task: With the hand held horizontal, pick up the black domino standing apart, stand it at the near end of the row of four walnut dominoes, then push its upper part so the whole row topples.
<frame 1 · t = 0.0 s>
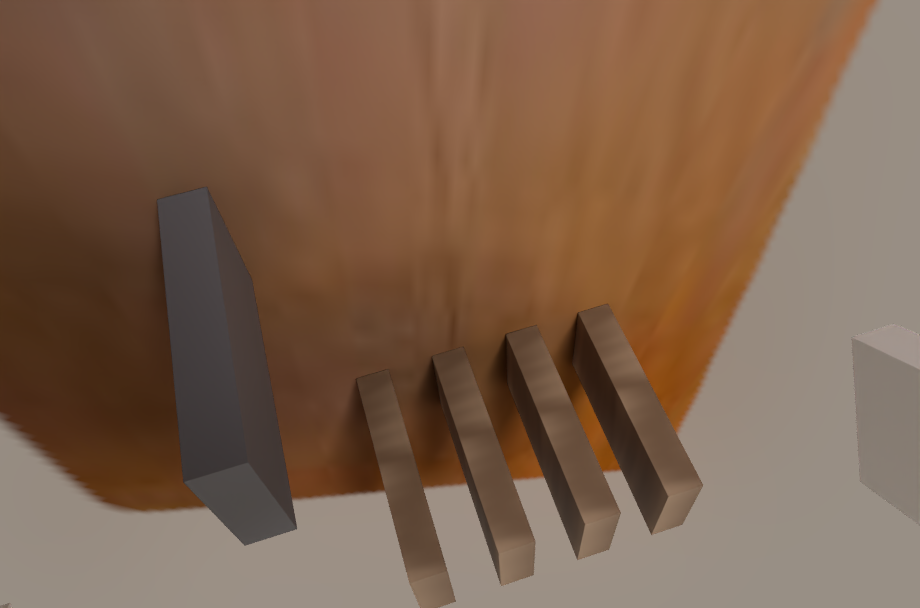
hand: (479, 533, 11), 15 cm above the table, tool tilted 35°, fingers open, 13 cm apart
walnut domino 2: (451, 376, 38), on the table
black domino: (208, 243, 26), on the table
walnut domino 4: (589, 335, 39), on the table
walnut domino 1: (380, 398, 38), on the table
walnut domino 3: (521, 355, 39), on the table
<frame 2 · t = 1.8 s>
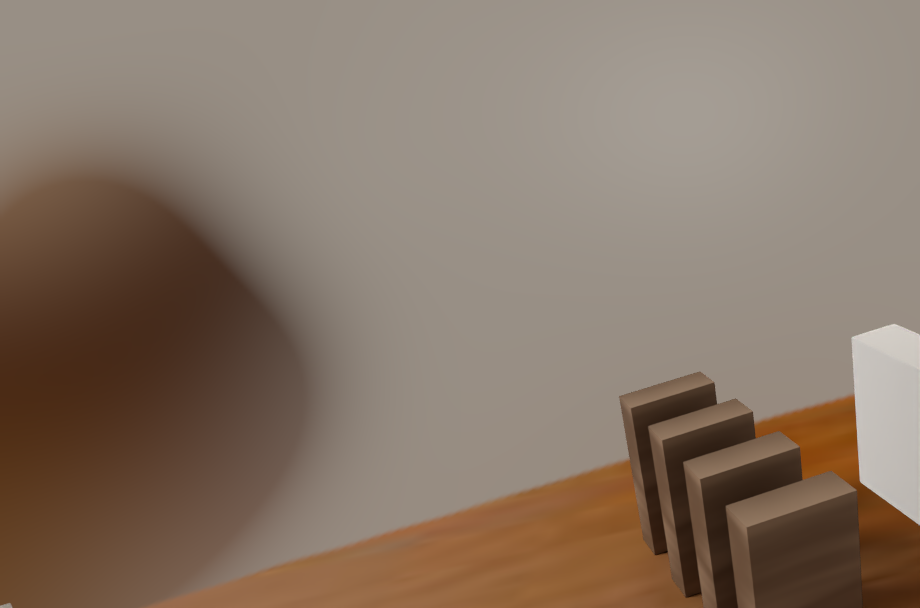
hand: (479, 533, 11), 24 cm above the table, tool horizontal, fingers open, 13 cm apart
walnut domino 4: (687, 534, 45), on the table
walnut domino 3: (720, 573, 42), on the table
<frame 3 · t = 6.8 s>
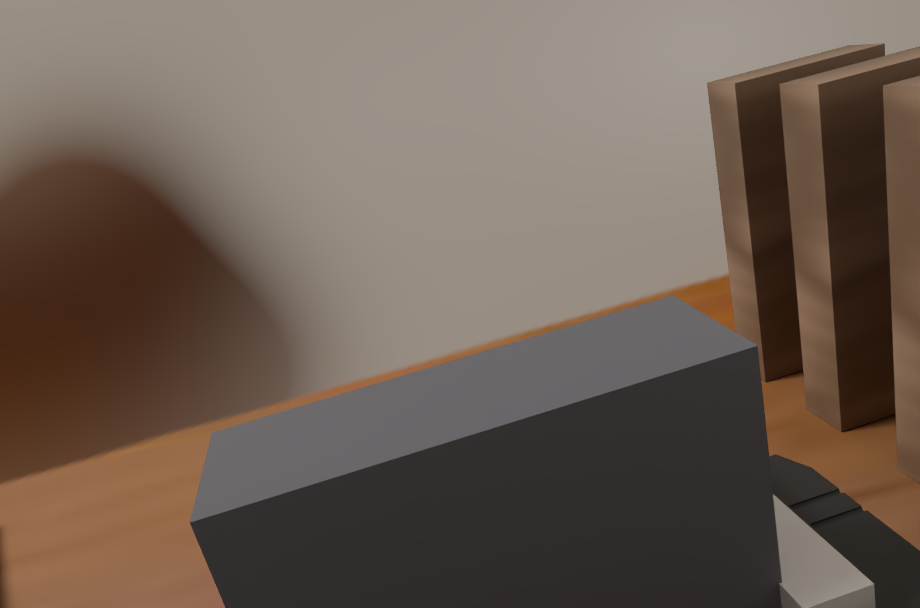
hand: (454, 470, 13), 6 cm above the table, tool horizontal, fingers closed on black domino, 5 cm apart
walnut domino 4: (816, 352, 26), on the table
walnut domino 3: (896, 396, 23), on the table
when the fingers open (7 cm above the table, at t = 12.1 s): black domino stays where it is, on the table.
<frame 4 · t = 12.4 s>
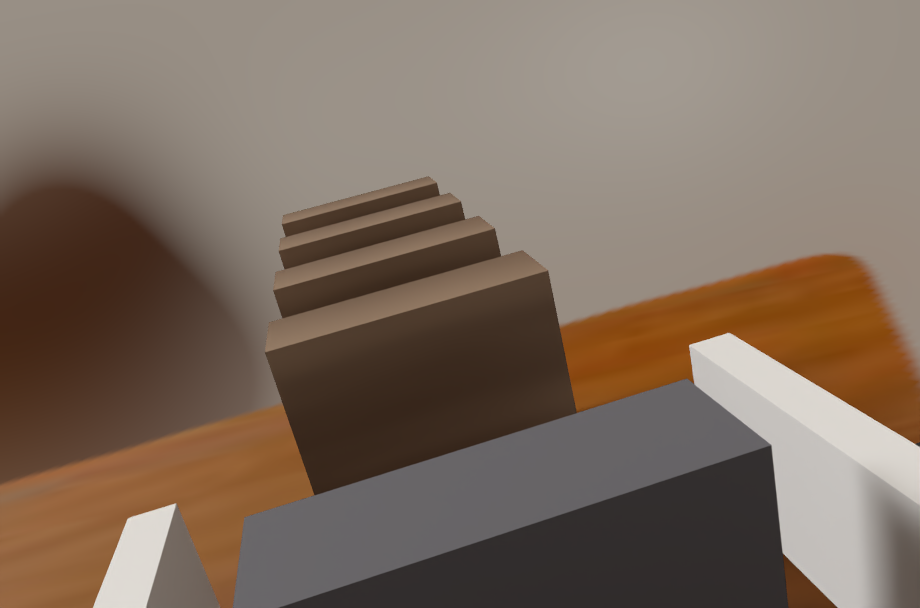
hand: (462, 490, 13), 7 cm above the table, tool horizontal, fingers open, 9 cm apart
walnut domino 2: (477, 597, 20), on the table
walnut domino 4: (431, 461, 27), on the table
walnut domino 3: (451, 519, 24), on the table
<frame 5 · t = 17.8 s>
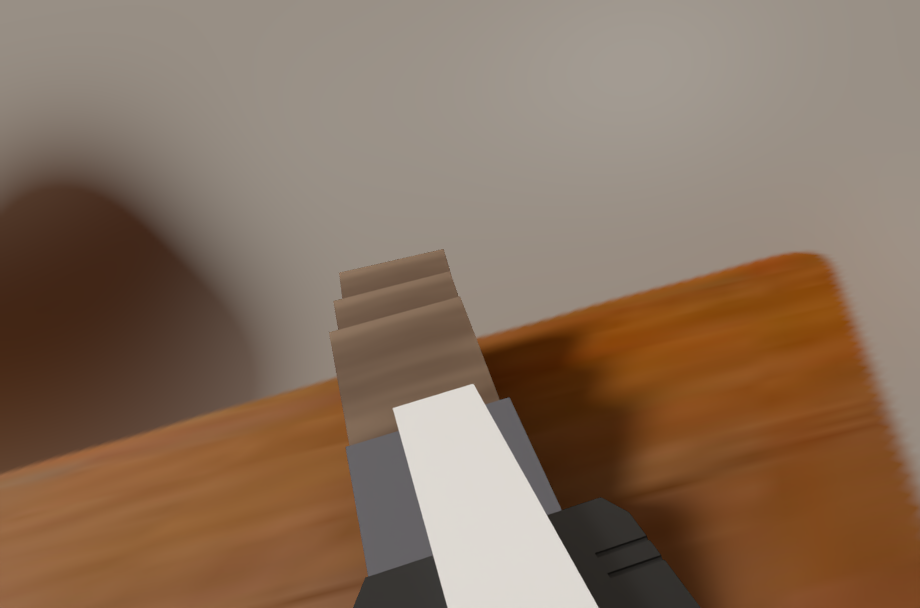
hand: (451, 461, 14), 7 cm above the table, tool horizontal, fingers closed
walnut domino 2: (446, 496, 25), point 1 cm above the table, tilted 66°, touching walnut domino 1, walnut domino 3
walnut domino 1: (466, 569, 21), point 1 cm above the table, tilted 65°, touching black domino, walnut domino 2
walnut domino 3: (429, 439, 28), point 1 cm above the table, tilted 66°, touching walnut domino 2, walnut domino 4
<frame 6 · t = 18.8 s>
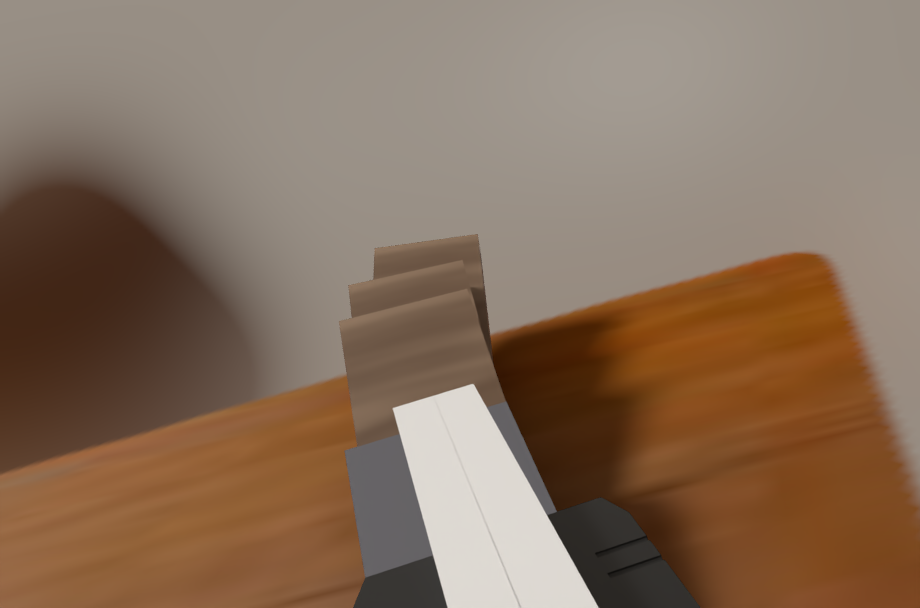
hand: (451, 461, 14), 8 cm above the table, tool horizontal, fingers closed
walnut domino 2: (446, 480, 25), point 1 cm above the table, tilted 65°, touching walnut domino 1, walnut domino 3
walnut domino 1: (464, 553, 22), point 1 cm above the table, tilted 65°, touching black domino, walnut domino 2
walnut domino 3: (435, 420, 29), point 1 cm above the table, tilted 65°, touching walnut domino 2, walnut domino 4
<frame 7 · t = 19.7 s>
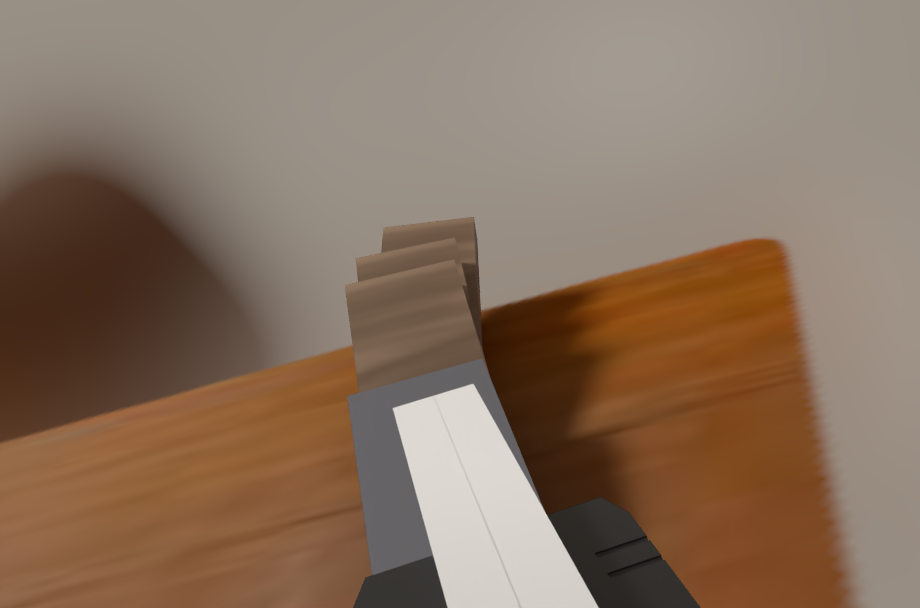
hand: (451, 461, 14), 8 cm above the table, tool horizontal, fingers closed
walnut domino 2: (435, 416, 30), point 1 cm above the table, tilted 65°, touching walnut domino 1, walnut domino 3
walnut domino 1: (443, 467, 27), point 1 cm above the table, tilted 65°, touching walnut domino 2
walnut domino 3: (427, 370, 34), point 1 cm above the table, tilted 66°, touching walnut domino 2, walnut domino 4
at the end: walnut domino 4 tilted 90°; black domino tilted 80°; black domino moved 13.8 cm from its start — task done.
